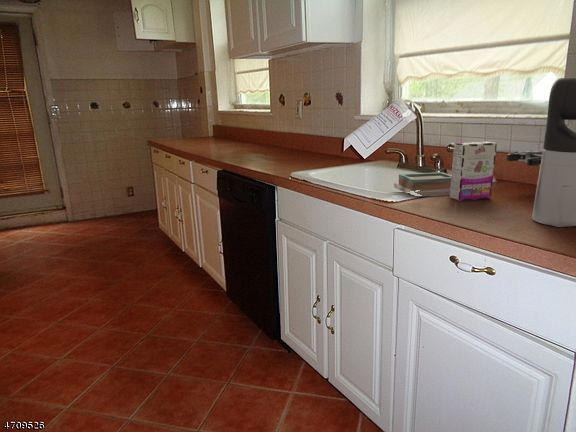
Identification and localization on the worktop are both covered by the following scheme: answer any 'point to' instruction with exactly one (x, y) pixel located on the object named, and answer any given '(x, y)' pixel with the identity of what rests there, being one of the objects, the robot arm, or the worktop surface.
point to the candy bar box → (472, 170)
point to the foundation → (425, 183)
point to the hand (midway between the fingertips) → (517, 159)
